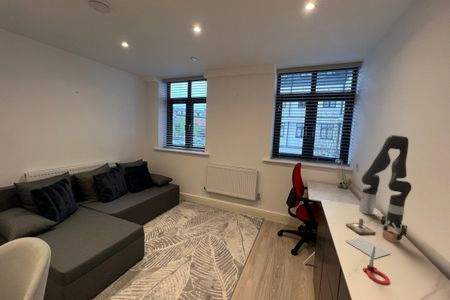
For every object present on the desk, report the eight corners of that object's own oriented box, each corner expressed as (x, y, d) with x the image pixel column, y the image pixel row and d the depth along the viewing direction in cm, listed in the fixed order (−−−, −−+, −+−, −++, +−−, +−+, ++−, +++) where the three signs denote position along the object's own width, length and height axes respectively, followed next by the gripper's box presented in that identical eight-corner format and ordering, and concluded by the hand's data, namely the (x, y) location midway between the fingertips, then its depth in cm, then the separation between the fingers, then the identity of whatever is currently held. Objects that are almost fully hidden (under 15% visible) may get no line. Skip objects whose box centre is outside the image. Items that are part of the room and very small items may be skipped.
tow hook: (394, 285, 87) (375, 269, 96) (400, 259, 85) (380, 245, 94) (377, 286, 86) (360, 269, 95) (383, 260, 84) (365, 246, 93)
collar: (382, 236, 127) (383, 230, 126) (390, 236, 128) (391, 230, 127) (391, 242, 121) (392, 235, 121) (399, 241, 122) (400, 235, 122)
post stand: (345, 225, 139) (347, 214, 139) (360, 225, 141) (361, 214, 140) (359, 234, 128) (361, 223, 127) (375, 234, 130) (377, 222, 129)
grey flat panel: (370, 236, 128) (370, 235, 127) (418, 261, 104) (419, 260, 104) (345, 241, 119) (345, 240, 119) (392, 270, 96) (392, 269, 96)
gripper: (412, 216, 116) (408, 242, 118) (389, 207, 130) (385, 230, 132) (402, 216, 115) (398, 242, 116) (379, 207, 129) (376, 230, 130)
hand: (391, 236), depth 124 cm, fingers open, 8 cm apart
